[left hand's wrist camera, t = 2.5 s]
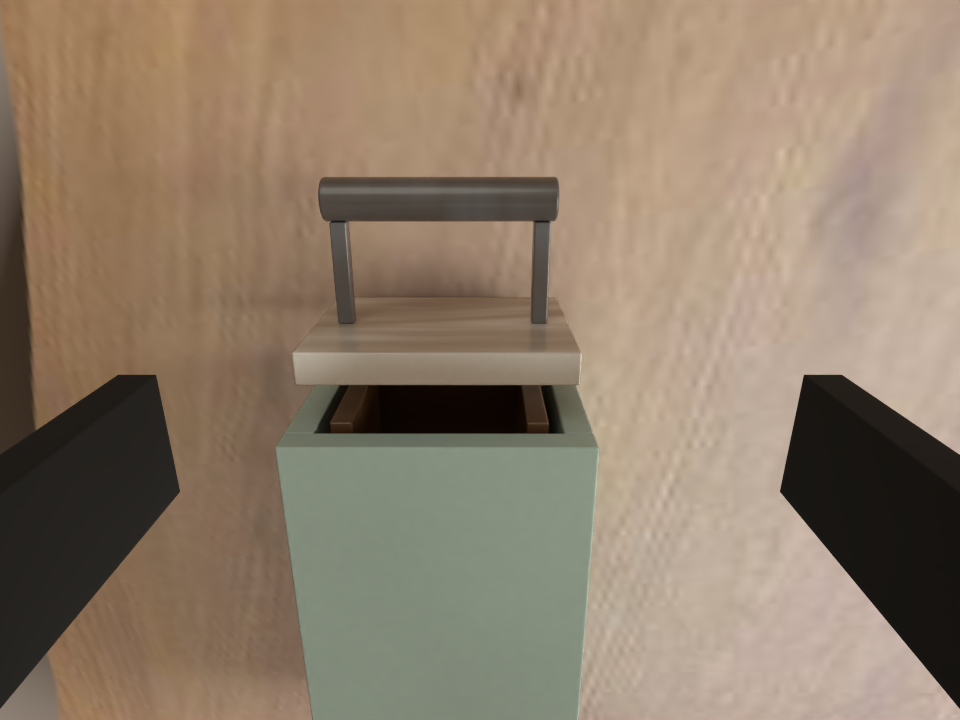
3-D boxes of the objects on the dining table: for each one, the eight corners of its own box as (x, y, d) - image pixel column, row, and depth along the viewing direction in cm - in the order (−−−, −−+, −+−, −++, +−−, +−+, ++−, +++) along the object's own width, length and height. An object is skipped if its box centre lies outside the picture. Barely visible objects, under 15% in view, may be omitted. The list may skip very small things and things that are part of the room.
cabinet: (335, 352, 29) (274, 447, 20) (564, 352, 29) (599, 447, 20) (366, 685, 37) (330, 857, 28) (547, 686, 36) (567, 858, 28)
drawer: (327, 170, 25) (270, 185, 18) (563, 170, 25) (593, 185, 18) (368, 643, 34) (340, 769, 27) (541, 644, 34) (556, 770, 27)
